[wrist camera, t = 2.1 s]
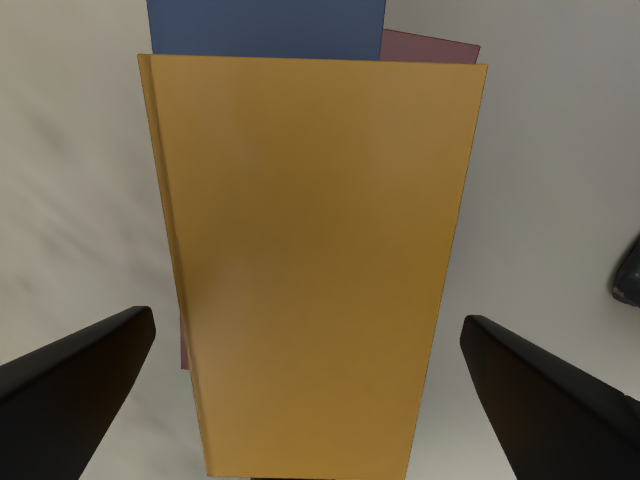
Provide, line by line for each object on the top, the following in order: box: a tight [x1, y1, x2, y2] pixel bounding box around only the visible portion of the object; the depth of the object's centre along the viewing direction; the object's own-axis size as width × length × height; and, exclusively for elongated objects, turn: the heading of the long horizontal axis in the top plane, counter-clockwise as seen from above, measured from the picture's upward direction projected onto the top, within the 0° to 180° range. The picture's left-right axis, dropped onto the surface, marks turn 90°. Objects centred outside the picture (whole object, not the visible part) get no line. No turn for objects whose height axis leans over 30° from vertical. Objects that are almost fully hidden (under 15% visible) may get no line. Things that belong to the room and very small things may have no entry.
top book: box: [137, 54, 488, 480], centre depth 10 cm, size 13×7×3 cm, turn 178°
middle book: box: [146, 0, 386, 61], centre depth 12 cm, size 15×6×3 cm, turn 176°
